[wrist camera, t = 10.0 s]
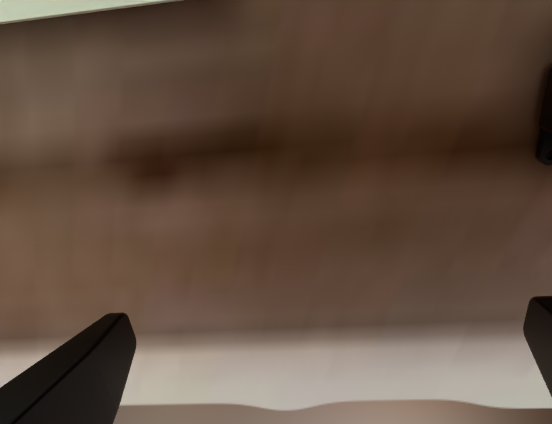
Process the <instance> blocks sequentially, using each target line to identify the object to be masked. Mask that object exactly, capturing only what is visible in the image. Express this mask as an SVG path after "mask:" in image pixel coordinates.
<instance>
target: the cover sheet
mask: <svg viewBox="0 0 552 424" xmlns="http://www.w3.org/2000/svg"><path fill="white" fill-rule="evenodd" d="M174 1H182V0H0V24H7V23H15V22H22V21H30V20H37V19H45V18H53V17H60V16H68V15H75V14H83V13H91V12H98V11H106V10H113V9H121V8H129V7H136V6H144V5H151V4H159V3H167V2H174Z"/></svg>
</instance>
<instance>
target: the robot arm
mask: <svg viewBox="0 0 552 424" xmlns="http://www.w3.org/2000/svg"><path fill="white" fill-rule="evenodd" d="M539 125H540V126H541V130H540V135H539V140H538V145H537V150H536V158H537V160H538V161H540V162H542V163H544V164H545V165H552V154H551V155H550V156H549V157H546V154H547V153H548V152H549V151H550V150H552V68H551V69H550V71H549V76H548V81H547V86H546V91H545V96H544V101H543V106H542V111H541V116H540V121H539ZM523 331H524V336H525V338H526V341H527V343H528V345H529V347H530V350H531V352H532V354H533V356H534V359H535V361H536V363H537V365H538V368H539V370H540V372H541V374H542V376H543V379H544V381H545V383H546V385H547V388H548V390H549V392H550V394H551V396H552V296H537V297H533V298H531V300H530V301H529V304H528V309H527V313H526V317H525V321H524V326H523ZM135 349H136V337H135V334H134V331H133V329H132V326H131V323H130V320H129V318H128V316H127V314H125V313H109V314H106V315H105V316H103V317H102V318H101V319H99V320H98V321H96V322H95V323H93V324H92V325H90V326H89V327H88V328H86V329H85V330H83V331H82V332H80V333H79V334H77V335H76V336H74V337H73V338H72V339H70V340H69V341H67V342H66V343H64V344H63V345H61V346H60V347H59V348H57V349H56V350H54V351H53V352H51V353H50V354H48V355H47V356H46V357H44V358H43V359H41V360H40V361H38V362H37V363H35V364H34V365H33V366H31V367H30V368H28V369H27V370H25V371H24V372H22V373H21V374H20V375H18V376H17V377H15V378H14V379H12V380H11V381H9V382H8V383H7V384H5V385H4V386H2V387H1V388H0V424H113V422H114V419H115V416H116V414H117V411H118V408H119V405H120V402H121V398H122V395H123V391H124V388H125V384H126V381H127V377H128V374H129V370H130V367H131V364H132V360H133V357H134V353H135Z"/></svg>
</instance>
